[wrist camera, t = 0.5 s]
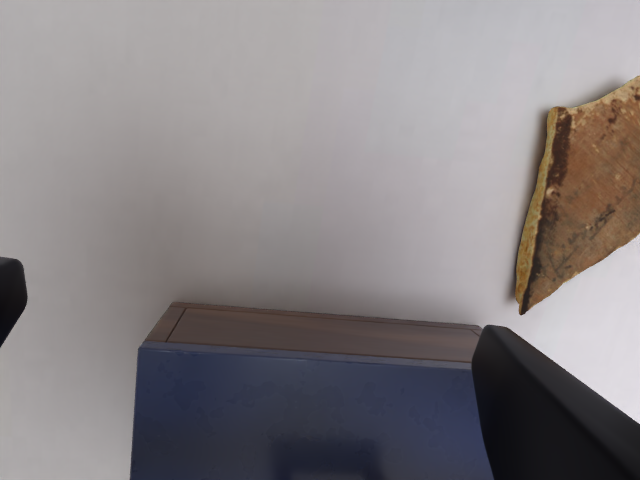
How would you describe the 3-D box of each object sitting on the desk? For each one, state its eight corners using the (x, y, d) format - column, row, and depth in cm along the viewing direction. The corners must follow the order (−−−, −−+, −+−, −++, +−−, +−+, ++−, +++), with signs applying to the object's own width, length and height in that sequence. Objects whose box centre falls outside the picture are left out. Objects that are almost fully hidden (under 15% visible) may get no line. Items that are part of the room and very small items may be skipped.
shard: (506, 307, 25) (524, 318, 23) (431, 185, 24) (444, 186, 22) (677, 190, 25) (708, 192, 23) (611, 62, 24) (639, 53, 22)
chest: (454, 476, 26) (501, 553, 21) (160, 466, 24) (130, 547, 19) (478, 325, 25) (534, 366, 20) (172, 301, 23) (143, 339, 18)
